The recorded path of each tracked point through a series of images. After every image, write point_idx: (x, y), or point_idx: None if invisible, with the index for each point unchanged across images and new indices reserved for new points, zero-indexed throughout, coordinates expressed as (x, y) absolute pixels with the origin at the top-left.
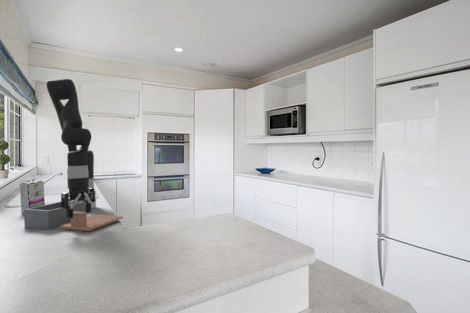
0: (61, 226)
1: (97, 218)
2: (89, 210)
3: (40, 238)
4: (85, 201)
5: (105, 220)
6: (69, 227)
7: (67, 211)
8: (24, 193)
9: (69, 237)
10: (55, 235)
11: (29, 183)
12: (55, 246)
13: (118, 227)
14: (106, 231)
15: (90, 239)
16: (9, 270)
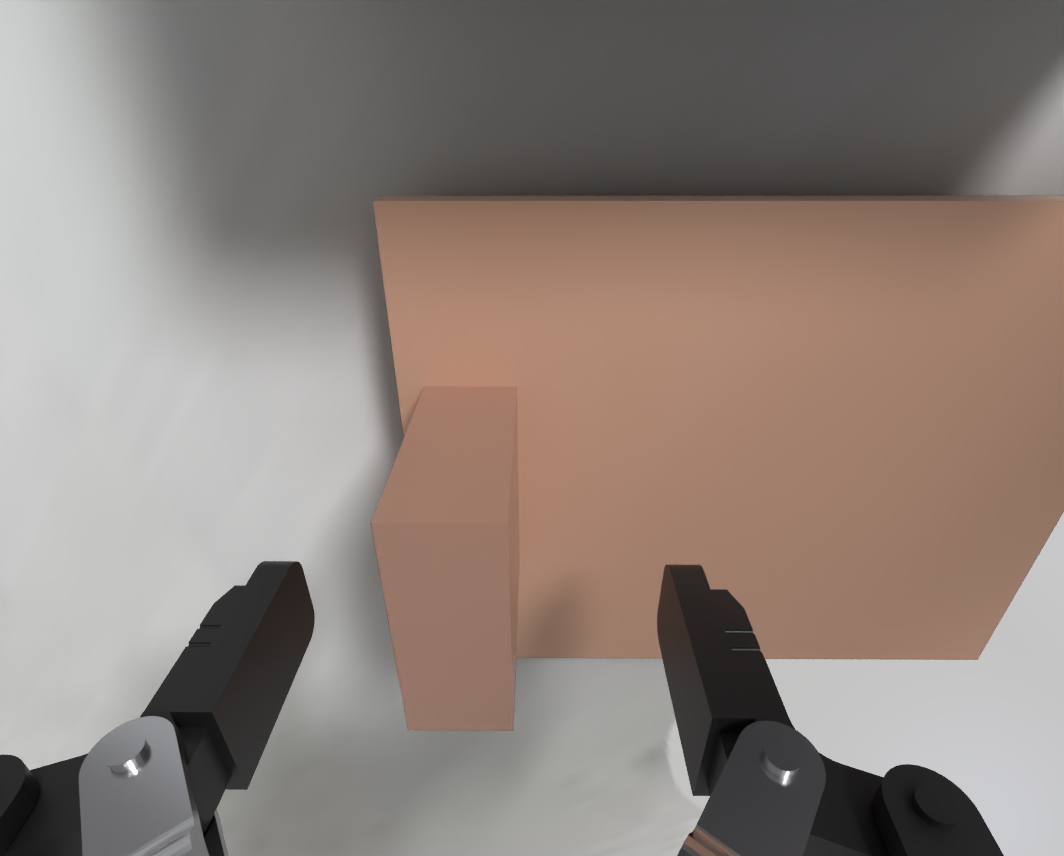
0: (378, 216)
1: (882, 440)
2: (666, 670)
3: (36, 257)
4: (726, 821)
5: (764, 606)
6: (400, 386)
7: (175, 697)
8: None
9: (262, 546)
10: (215, 340)
11: None
12: (64, 619)
13: (666, 712)
14: (532, 699)
15: (320, 719)
16: None
